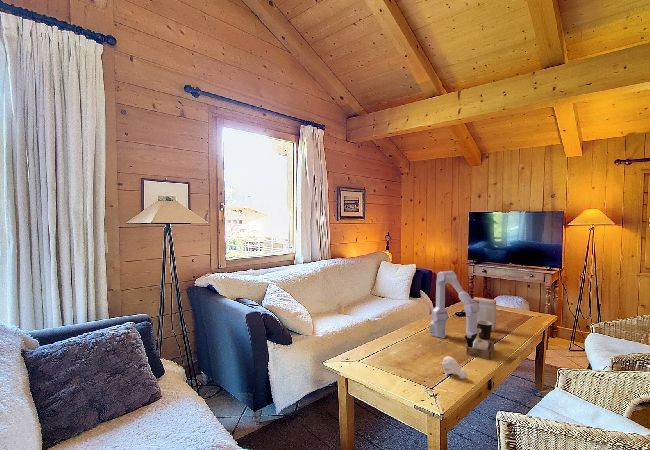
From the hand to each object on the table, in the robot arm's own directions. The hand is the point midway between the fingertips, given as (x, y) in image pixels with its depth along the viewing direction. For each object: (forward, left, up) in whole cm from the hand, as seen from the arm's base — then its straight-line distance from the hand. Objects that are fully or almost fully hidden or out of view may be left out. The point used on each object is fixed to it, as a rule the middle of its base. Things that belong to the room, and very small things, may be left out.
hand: (471, 346), depth 196 cm
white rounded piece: (-2, -37, -3) cm, 37 cm away
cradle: (+4, 0, -2) cm, 5 cm away
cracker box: (+1, +43, -3) cm, 43 cm away
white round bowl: (+4, 0, -2) cm, 5 cm away
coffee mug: (+3, +26, -3) cm, 26 cm away
